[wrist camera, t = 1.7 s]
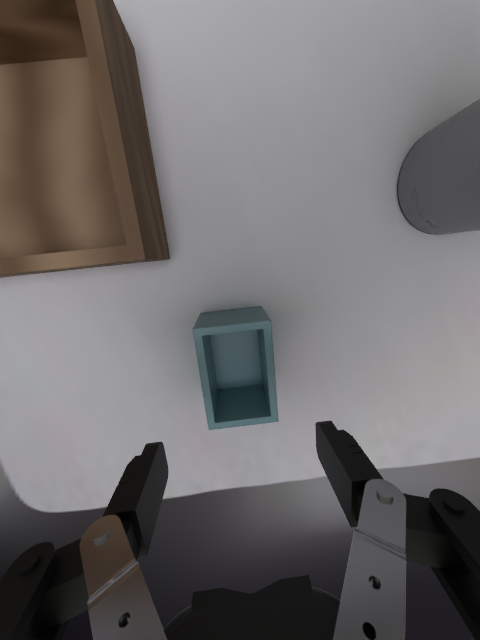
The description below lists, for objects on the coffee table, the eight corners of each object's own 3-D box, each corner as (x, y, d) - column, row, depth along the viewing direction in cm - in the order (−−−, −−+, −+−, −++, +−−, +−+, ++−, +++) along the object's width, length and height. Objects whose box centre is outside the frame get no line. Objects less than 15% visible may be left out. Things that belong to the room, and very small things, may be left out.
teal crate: (260, 305, 25) (270, 320, 19) (267, 386, 27) (278, 421, 21) (201, 312, 24) (192, 329, 19) (213, 392, 27) (208, 430, 21)
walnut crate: (133, 47, 19) (81, -71, 12) (169, 259, 23) (145, 259, 16) (-104, 68, 19) (-295, -41, 12) (-26, 280, 22) (-135, 289, 16)
